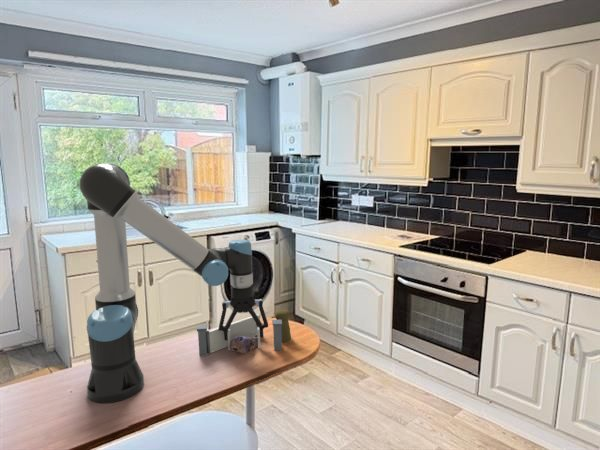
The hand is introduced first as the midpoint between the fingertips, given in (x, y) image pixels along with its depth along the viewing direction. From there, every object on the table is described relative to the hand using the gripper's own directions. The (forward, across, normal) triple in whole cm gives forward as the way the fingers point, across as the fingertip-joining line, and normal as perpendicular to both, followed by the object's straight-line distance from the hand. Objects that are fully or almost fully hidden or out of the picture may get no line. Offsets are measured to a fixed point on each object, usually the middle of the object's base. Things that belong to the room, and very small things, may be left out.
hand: (244, 347), depth 146 cm
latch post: (+1, +12, -1) cm, 12 cm away
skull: (+1, +1, -1) cm, 1 cm away
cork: (+1, +14, +6) cm, 15 cm away
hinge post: (+1, -14, -1) cm, 14 cm away
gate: (0, -3, +4) cm, 5 cm away
